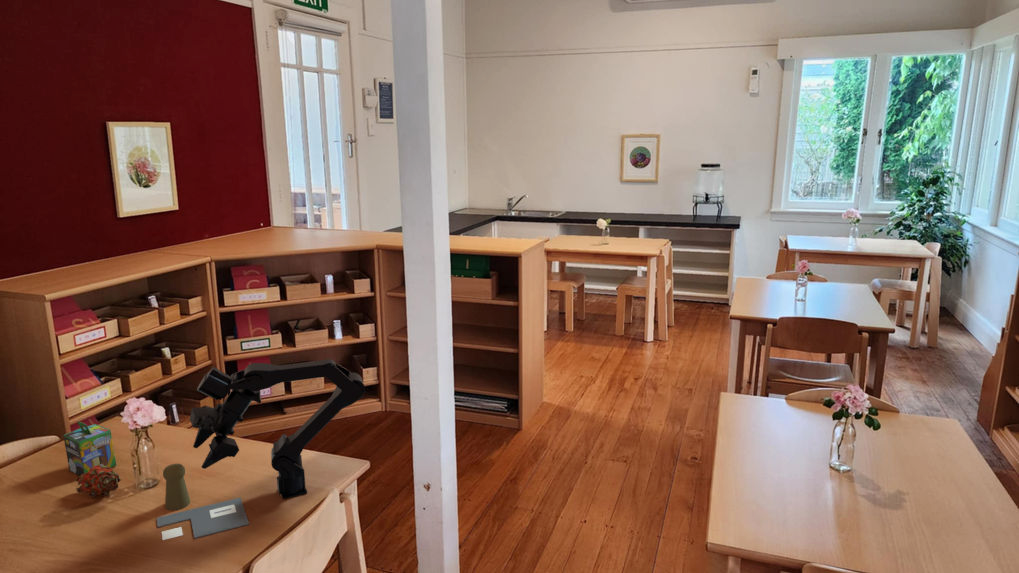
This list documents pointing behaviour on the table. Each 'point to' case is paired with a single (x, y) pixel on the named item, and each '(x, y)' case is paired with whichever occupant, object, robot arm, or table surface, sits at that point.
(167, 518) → the label panel
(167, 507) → the olive green pawn
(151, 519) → the table surface
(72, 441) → the chalk box
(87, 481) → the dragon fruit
